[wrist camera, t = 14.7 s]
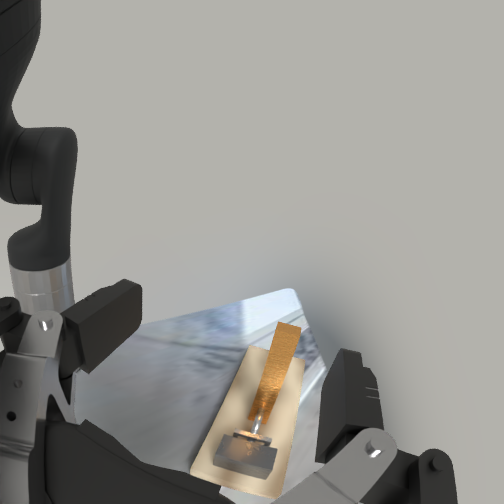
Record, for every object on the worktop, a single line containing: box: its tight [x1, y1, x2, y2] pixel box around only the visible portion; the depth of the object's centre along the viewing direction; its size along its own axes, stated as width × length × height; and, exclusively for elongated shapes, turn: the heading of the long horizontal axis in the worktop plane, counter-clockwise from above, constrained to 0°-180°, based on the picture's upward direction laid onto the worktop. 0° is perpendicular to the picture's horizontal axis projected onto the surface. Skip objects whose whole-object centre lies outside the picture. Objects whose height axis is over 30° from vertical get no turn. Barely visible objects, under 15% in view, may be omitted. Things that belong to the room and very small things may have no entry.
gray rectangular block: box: [213, 429, 278, 480], centre depth 24 cm, size 6×6×3 cm
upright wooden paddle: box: [233, 322, 301, 447], centre depth 28 cm, size 4×10×15 cm, turn 166°
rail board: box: [190, 345, 305, 499], centre depth 33 cm, size 10×26×2 cm, turn 166°
